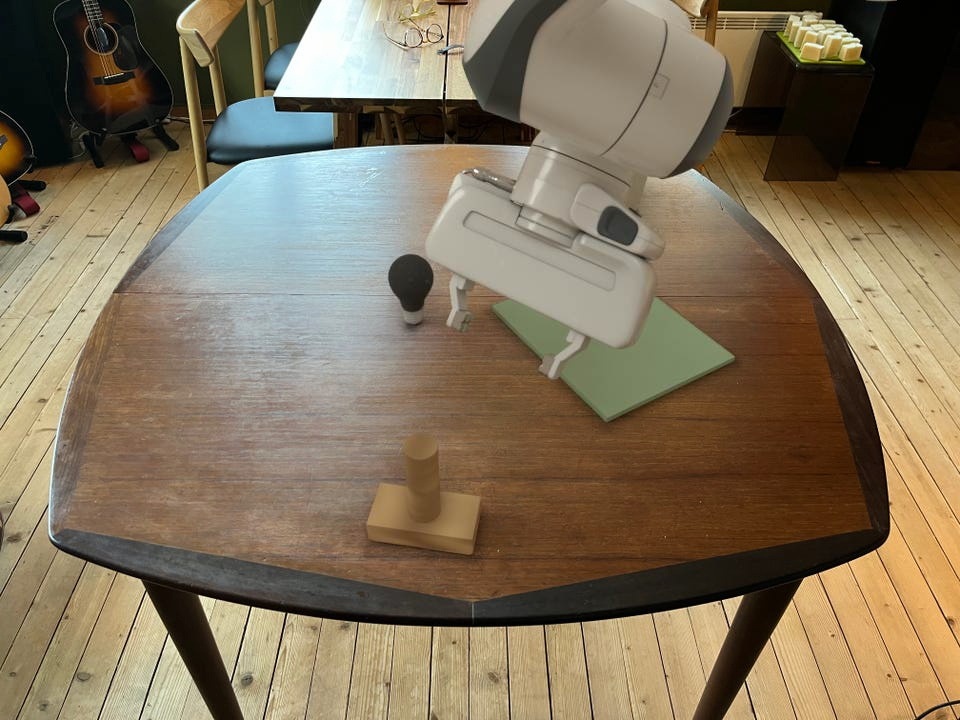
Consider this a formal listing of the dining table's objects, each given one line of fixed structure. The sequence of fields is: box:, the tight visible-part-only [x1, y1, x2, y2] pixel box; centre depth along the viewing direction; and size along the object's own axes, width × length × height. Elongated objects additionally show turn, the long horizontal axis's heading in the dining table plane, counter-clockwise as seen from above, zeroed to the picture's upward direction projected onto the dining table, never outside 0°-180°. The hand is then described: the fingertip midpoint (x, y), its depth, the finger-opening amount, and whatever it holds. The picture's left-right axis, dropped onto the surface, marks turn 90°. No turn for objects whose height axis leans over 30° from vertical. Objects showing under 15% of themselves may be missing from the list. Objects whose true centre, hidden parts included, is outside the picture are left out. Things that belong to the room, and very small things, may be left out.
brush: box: [365, 432, 482, 556], centre depth 67 cm, size 10×5×12 cm, turn 81°
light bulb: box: [387, 253, 435, 325], centre depth 92 cm, size 6×6×10 cm
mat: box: [491, 295, 736, 423], centre depth 93 cm, size 24×20×1 cm
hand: (500, 352), depth 63 cm, fingers open, 8 cm apart
